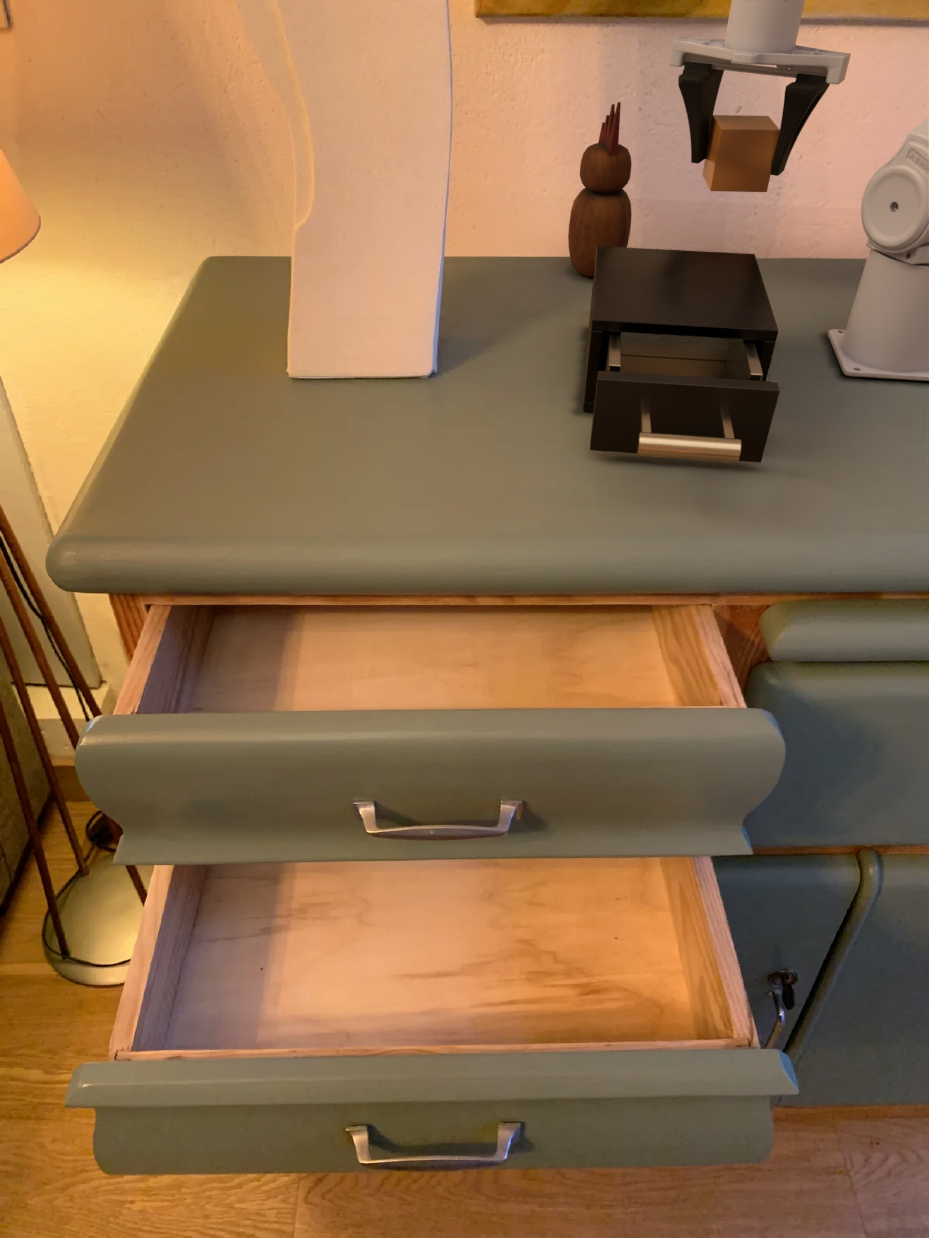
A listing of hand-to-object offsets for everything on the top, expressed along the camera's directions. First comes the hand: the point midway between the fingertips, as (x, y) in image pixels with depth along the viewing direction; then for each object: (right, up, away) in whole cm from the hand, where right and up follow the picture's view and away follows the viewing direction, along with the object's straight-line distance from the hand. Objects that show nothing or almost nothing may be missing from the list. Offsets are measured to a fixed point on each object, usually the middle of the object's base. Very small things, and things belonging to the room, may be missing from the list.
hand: (736, 166), depth 80 cm
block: (0, -1, +1) cm, 1 cm away
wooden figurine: (-12, -7, +7) cm, 15 cm away
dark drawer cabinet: (-8, -21, -9) cm, 24 cm away
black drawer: (-10, -27, -17) cm, 34 cm away
